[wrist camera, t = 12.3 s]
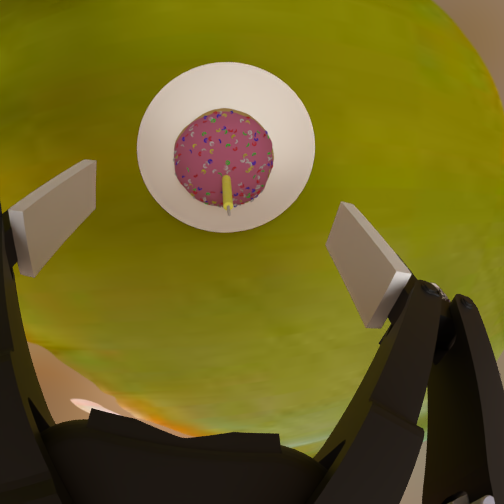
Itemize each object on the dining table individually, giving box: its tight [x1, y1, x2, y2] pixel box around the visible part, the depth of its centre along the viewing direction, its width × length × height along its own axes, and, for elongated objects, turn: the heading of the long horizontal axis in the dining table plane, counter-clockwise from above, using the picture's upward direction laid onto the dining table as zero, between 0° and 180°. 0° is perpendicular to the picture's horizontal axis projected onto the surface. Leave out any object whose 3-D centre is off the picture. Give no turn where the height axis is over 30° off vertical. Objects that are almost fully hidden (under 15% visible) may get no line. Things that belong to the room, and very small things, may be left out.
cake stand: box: [137, 62, 315, 232], centre depth 32 cm, size 18×18×8 cm
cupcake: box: [173, 108, 274, 216], centre depth 23 cm, size 9×8×12 cm
